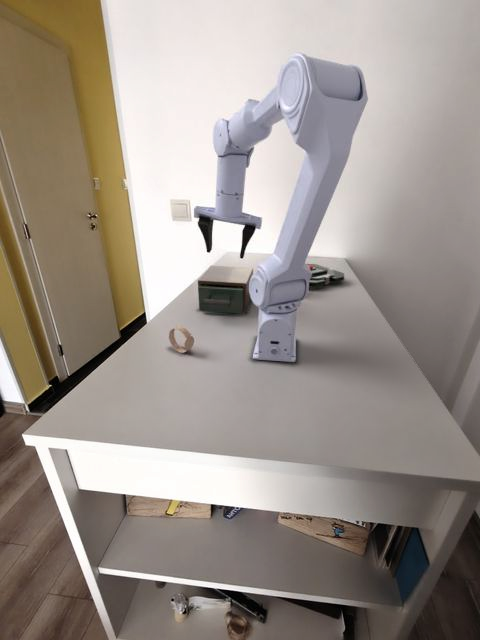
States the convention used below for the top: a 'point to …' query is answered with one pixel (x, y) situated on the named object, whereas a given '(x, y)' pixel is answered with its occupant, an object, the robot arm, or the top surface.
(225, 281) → the cabinet
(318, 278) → the four-lobed dark green device
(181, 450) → the top surface
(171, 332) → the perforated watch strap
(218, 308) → the drawer
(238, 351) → the top surface
